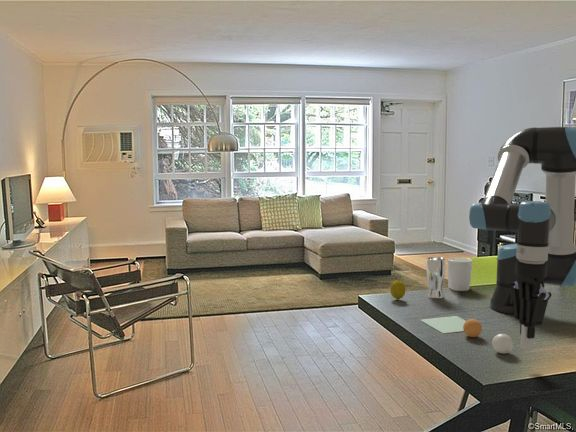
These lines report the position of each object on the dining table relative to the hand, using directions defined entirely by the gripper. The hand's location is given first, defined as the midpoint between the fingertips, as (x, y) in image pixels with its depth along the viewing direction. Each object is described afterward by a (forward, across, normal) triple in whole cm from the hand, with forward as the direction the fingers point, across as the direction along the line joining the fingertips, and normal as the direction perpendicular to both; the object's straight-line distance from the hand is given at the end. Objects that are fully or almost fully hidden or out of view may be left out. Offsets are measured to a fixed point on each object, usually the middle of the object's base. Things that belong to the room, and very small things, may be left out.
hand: (526, 348), depth 147 cm
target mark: (+5, -36, 0) cm, 36 cm away
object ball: (+2, -24, 0) cm, 24 cm away
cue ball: (+2, -10, 0) cm, 10 cm away
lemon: (+5, -67, -2) cm, 67 cm away
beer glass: (+4, -67, +14) cm, 68 cm away
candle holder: (+4, -75, +30) cm, 81 cm away
